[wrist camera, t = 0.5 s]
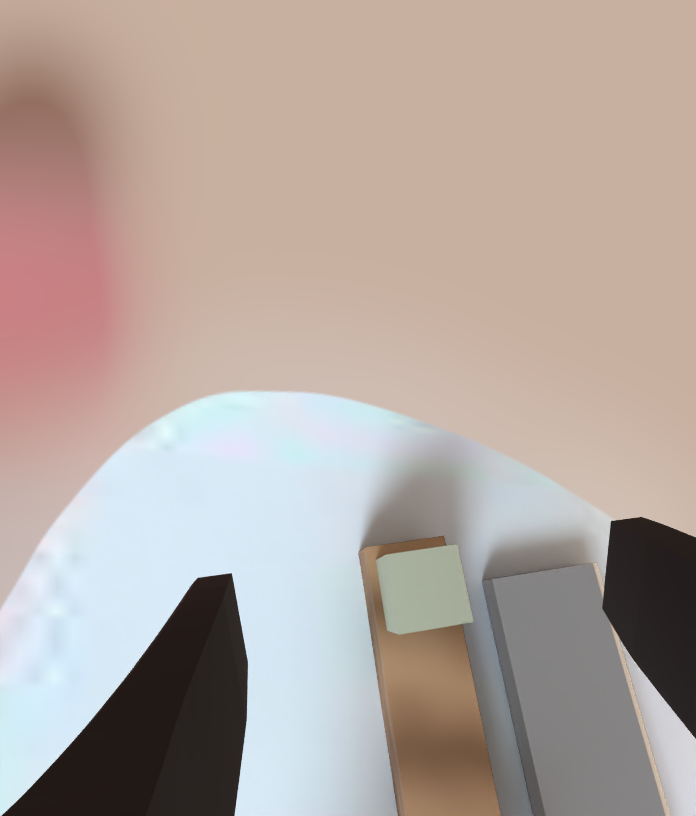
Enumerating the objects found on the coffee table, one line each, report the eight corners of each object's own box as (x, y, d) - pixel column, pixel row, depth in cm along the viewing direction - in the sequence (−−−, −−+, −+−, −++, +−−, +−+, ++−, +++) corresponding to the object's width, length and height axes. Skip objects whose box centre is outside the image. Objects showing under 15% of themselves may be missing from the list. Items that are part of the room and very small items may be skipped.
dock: (672, 880, 31) (696, 898, 29) (554, 910, 30) (571, 931, 28) (583, 564, 37) (598, 562, 35) (481, 580, 36) (492, 579, 34)
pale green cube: (452, 619, 31) (473, 621, 28) (386, 630, 31) (399, 634, 27) (439, 550, 33) (457, 544, 29) (375, 560, 32) (386, 554, 28)
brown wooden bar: (515, 987, 29) (547, 1045, 25) (427, 1011, 28) (447, 1074, 25) (429, 542, 37) (443, 535, 33) (358, 552, 36) (365, 547, 32)
